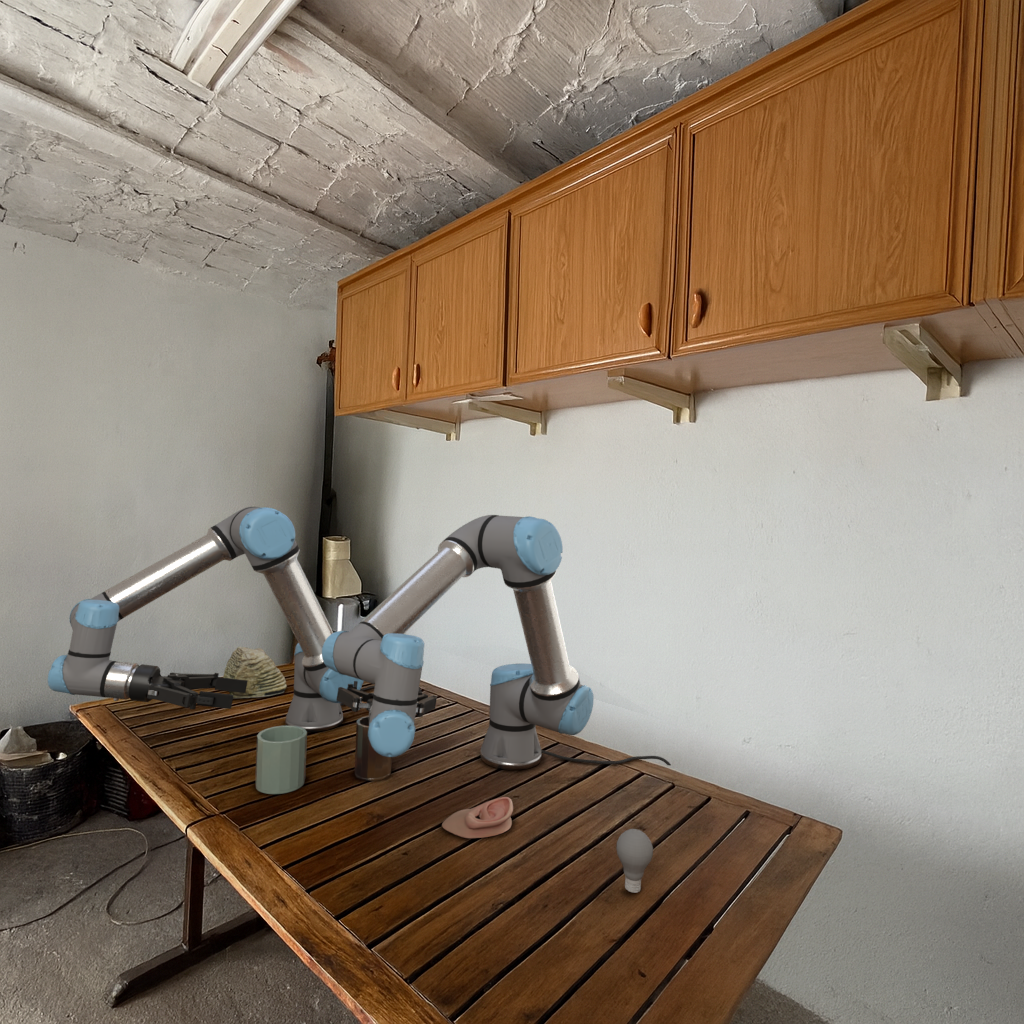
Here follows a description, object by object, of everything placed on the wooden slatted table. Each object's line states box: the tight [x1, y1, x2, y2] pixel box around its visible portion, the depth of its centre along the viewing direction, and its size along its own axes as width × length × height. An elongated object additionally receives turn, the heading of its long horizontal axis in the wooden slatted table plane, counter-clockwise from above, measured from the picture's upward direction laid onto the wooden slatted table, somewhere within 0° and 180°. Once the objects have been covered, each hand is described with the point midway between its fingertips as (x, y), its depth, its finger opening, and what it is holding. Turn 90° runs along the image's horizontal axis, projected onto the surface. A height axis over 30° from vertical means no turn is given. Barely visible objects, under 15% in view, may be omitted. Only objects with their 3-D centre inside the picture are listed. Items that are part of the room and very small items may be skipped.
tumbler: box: [354, 715, 393, 782], centre depth 146 cm, size 8×8×12 cm
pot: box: [254, 725, 308, 795], centre depth 139 cm, size 10×10×11 cm
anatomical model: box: [441, 796, 514, 839], centre depth 125 cm, size 13×4×12 cm
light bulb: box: [615, 828, 654, 894], centre depth 106 cm, size 6×6×10 cm
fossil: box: [222, 646, 288, 699], centre depth 198 cm, size 9×18×15 cm, turn 132°
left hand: (239, 694), depth 138 cm, fingers open, 13 cm apart
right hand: (386, 690), depth 139 cm, fingers open, 13 cm apart
